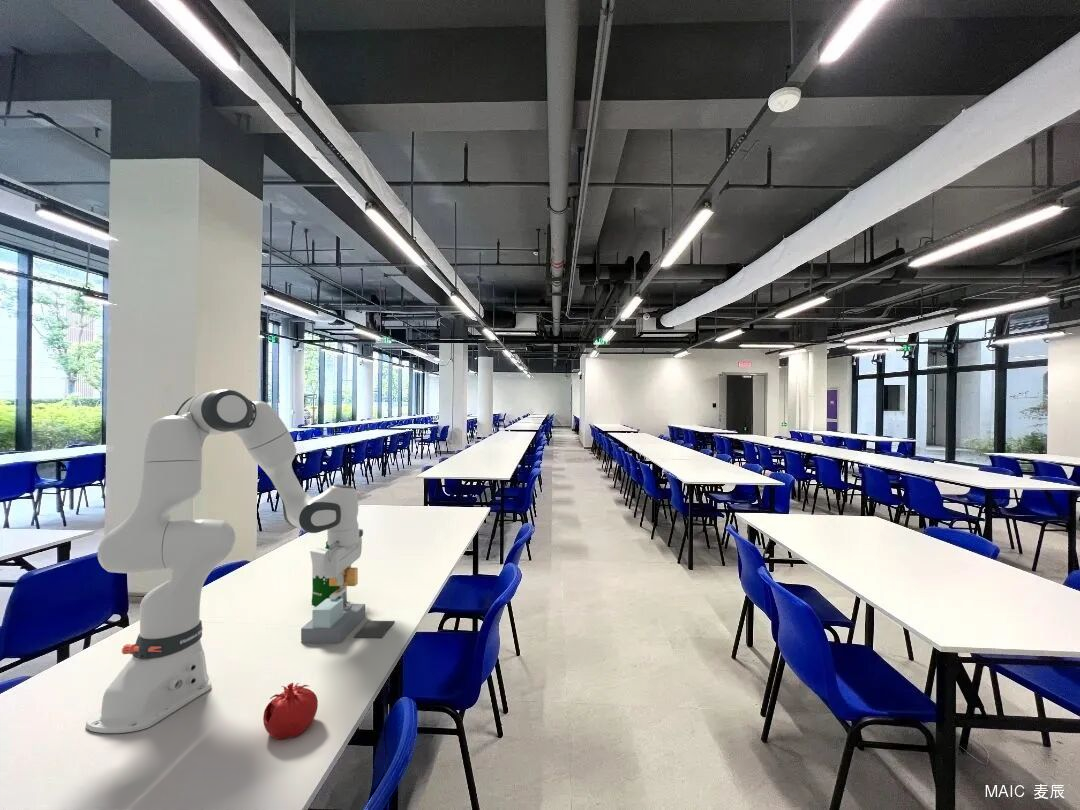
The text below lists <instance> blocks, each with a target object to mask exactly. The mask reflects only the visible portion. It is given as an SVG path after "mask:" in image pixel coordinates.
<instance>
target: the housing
mask: <svg viewBox="0 0 1080 810" xmlns="http://www.w3.org/2000/svg"><path fill="white" fill-rule="evenodd" d="M365 618H366V603H348V602H347V606H346V607H344V608H343V616H342V617H341V618H340V619H339V620H338V621H337V622H336V623H335V624H334V625H333V626H332V627H331V628H313V619H311V620H309V621H308V622H307V623H306V624H304V626H302V627H301V629H300V638H301V639H300V642H301V644H341V643H342V642H343V641H344V640H345V639H346V638H347V637H348V636H349V635H350V633H351V632H352V631H353V630H354V629H355V628H356V627H357V626H358V625H359V624H360V623H361V622H362V621H363V620H364V619H365Z"/></svg>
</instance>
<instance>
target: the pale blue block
mask: <svg viewBox="0 0 1080 810" xmlns="http://www.w3.org/2000/svg"><path fill="white" fill-rule="evenodd" d="M342 616H343V599H330V598H327V599H325V600H324V601H323V602H322V603H320V604H319V605H318V606H317V605H316V606H315V607H314V608H313V609H312V619H313V628H331V627H332V626H333V625H334V624H335V623H336V622H337V621H338V620H339V619H340V618H341V617H342ZM312 619H311V620H312Z"/></svg>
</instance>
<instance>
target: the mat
mask: <svg viewBox="0 0 1080 810" xmlns="http://www.w3.org/2000/svg"><path fill="white" fill-rule="evenodd" d="M394 623H395V620H368V621H366V623H365V624H364V625H363V626H362V627H361V628H360V629H359V631H357V632H356V633H355V634H354V636H353V638H354V639H355V638H356V639H357V638H358V639H359V638H360V639H382V638H383V637H384V636H385V635H386V633H387V632H388V631H389V630H390V628H391V627H392V626H393V625H394Z"/></svg>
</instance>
